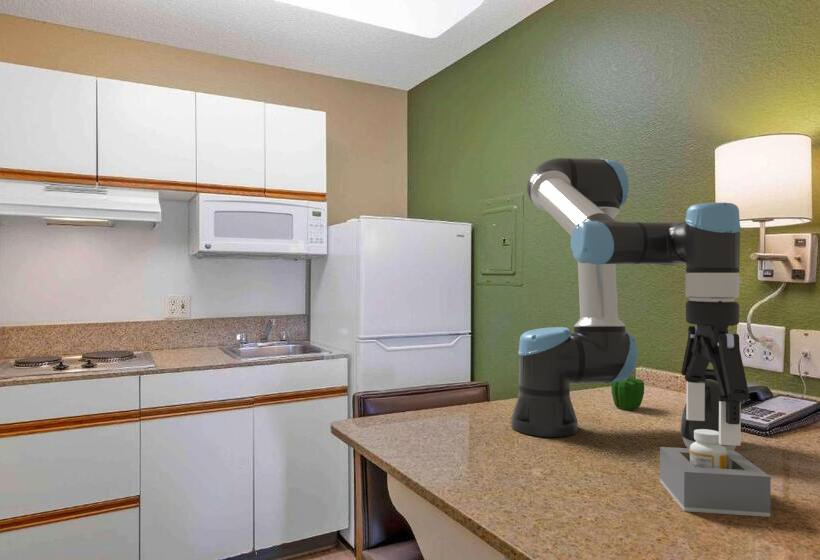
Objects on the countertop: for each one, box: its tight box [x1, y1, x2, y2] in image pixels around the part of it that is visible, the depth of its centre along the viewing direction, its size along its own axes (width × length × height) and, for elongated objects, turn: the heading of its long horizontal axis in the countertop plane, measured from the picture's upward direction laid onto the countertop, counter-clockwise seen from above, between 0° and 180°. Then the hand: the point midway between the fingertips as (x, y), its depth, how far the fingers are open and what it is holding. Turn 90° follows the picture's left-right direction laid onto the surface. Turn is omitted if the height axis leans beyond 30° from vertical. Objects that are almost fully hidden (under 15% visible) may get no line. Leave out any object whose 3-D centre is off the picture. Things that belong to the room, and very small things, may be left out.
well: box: [659, 446, 772, 518], centre depth 86 cm, size 12×12×6 cm
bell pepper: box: [611, 377, 645, 411], centre depth 144 cm, size 8×8×10 cm
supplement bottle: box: [690, 429, 727, 469], centre depth 87 cm, size 5×5×10 cm
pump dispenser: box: [679, 379, 737, 451], centre depth 106 cm, size 10×10×15 cm
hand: (711, 431), depth 86 cm, fingers open, 13 cm apart
